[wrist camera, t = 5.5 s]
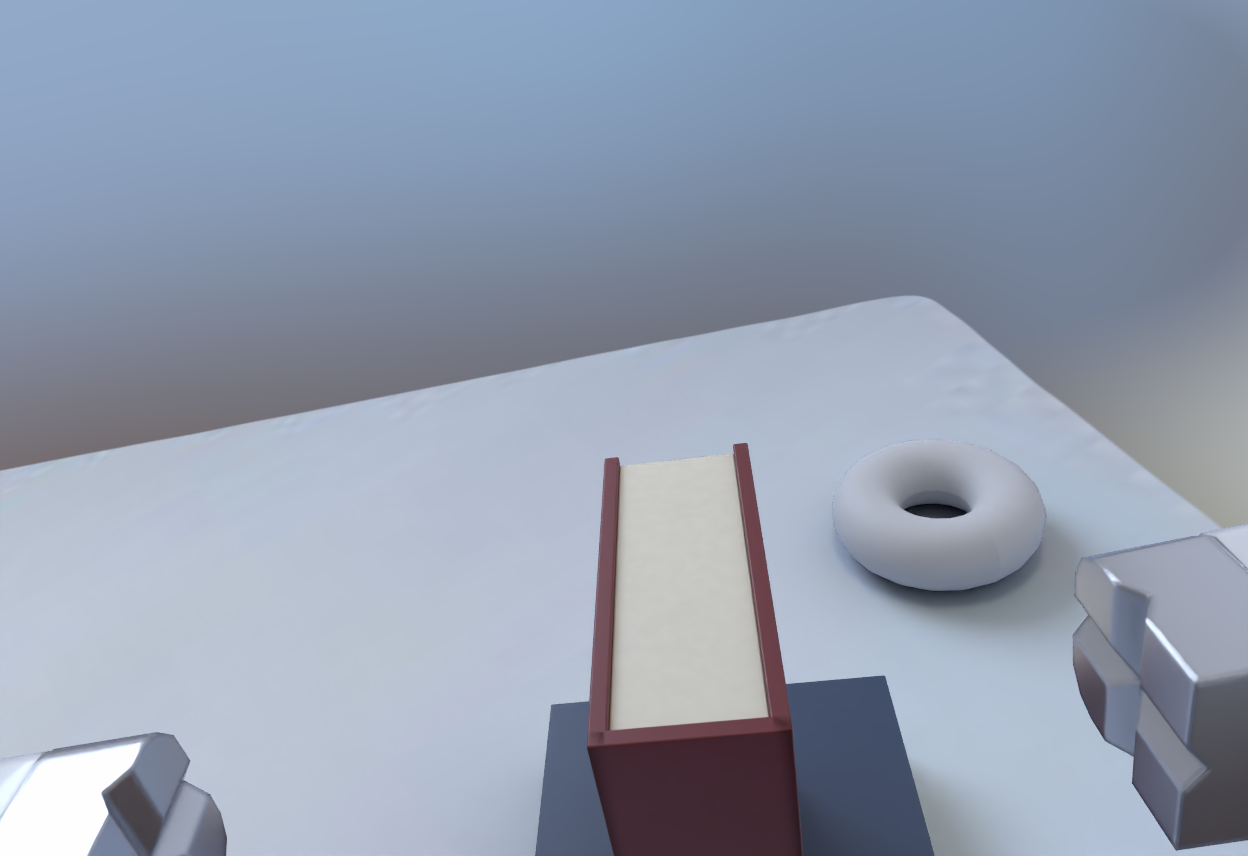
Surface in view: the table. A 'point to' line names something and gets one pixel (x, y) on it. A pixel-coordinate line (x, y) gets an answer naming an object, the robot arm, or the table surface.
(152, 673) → the table surface
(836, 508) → the donut
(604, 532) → the burgundy book
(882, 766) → the slate book
